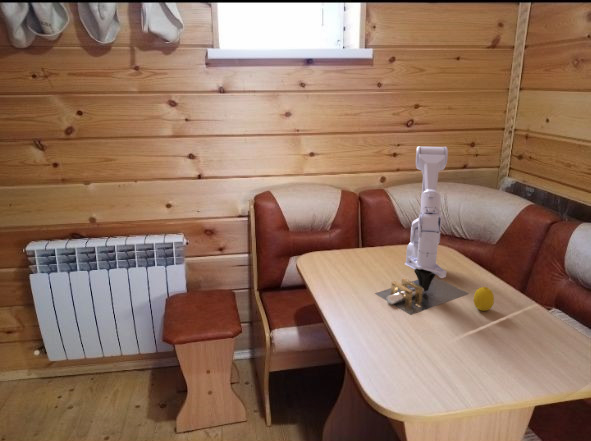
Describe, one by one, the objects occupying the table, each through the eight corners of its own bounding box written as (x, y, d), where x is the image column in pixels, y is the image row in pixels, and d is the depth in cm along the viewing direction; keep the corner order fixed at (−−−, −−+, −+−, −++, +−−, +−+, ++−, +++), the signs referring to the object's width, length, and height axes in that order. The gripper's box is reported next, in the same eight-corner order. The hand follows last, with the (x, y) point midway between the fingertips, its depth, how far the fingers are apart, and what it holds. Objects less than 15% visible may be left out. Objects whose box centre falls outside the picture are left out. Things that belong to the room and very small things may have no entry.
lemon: (470, 313, 139) (473, 288, 137) (473, 305, 144) (476, 281, 141) (491, 317, 137) (494, 292, 134) (493, 309, 141) (496, 285, 139)
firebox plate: (374, 295, 151) (375, 279, 149) (431, 276, 163) (432, 262, 161) (410, 316, 138) (411, 299, 136) (468, 295, 150) (470, 279, 148)
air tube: (392, 306, 143) (393, 298, 142) (386, 302, 145) (386, 294, 144) (423, 295, 149) (424, 287, 148) (417, 291, 151) (418, 283, 150)
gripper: (401, 245, 150) (398, 284, 155) (435, 261, 138) (432, 302, 143) (417, 241, 154) (414, 279, 158) (452, 256, 142) (448, 296, 146)
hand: (424, 290), depth 151 cm, fingers closed, pressing on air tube
